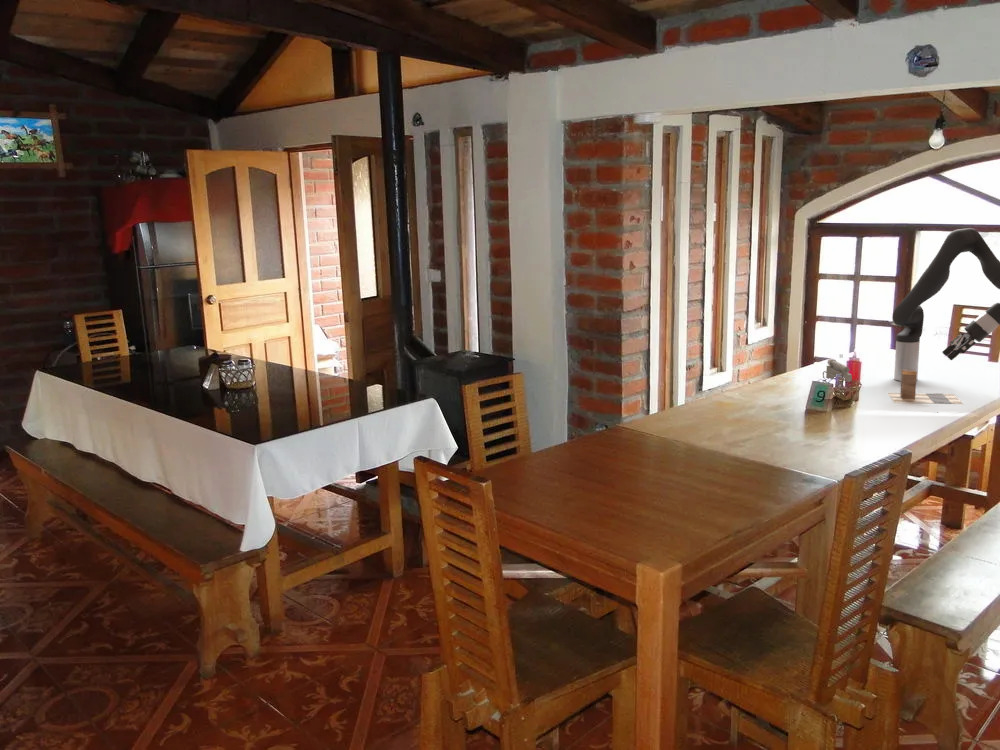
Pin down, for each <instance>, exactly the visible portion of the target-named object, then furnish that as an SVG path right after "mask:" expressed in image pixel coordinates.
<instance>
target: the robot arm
mask: <svg viewBox="0 0 1000 750" xmlns="http://www.w3.org/2000/svg"><path fill="white" fill-rule="evenodd" d="M968 252H969V253H971V254H972V255H974V256H975V257H976V258H977V259H978V261H979V263H980V266H981V270H982V273H983V274H984V276H985V277H986V279H988V280H989V282H990V283H991V284H992V285H993V286H994V287H995V288H997V289H998V290H1000V260H999V259H998V258H997V257H996V255H995V254H994V252H993V251H992V250H991V247H990V246H989V244H987V242H986V241H985V240H984V237H983V236H982V235H981V234H980V232H979V231H977V229H975V228H972V227H967V228H960V229H959V228H958V229H954V230H953V231H951V232H949V233H948V235H947V236H946V237H945V239H944V241H943V243H942V245H941V247H940V249H939V250H938V252H937V254H936V255H935V257H934V258H933V259H932V261H931V262H930V264H929V265H928V266H927V268H926V269H925V270H924V272H923V273H922V274H921V276H920V277H919V279H918V280H917V282H916V283H915V284H914V285H913V287H912V289H911V290H910V291H909V292H908V294H907V295H906V296H905V297H904V298H903V299H902V300H901V302H900V303H898V305H896V307H895V308H894V310H893V313H892V321H893V323H894V324H895V325H896V326H898V327H904V328H903V329H902V331H900V332H899V333H897V334H896V337H895V338H896V339H895V355H894V356H895V357H894V358H895V359H894V376H893V378H894V380H896V381H899V382H901V373H902V372H901V371H902V370H915V371H916V372H917V376H916V381H918V376H919V375H918V373H919V359H920V343H921V342H920V340H921V337H922V334H923V327H924V318H925V314H924V309H923V307H922V306H921V305H922V304H923V303H924V302H926V301H928V300H930V299H931V298H932V297H934V296H935V295H936V294H938V293H939V292H940V291H941V289H943V288H944V285H946V283H947V281H948V280H949V278H950V273H951V271H950V270H951V269H950V268H951V265H952V263H953V262H954V261H955V260H956V258H957V257H958V256H959V255H960V254H961V253H968ZM999 326H1000V302H996V303H994V304H993V305H991V306H990V307H989V308H987V309H986V310H985V311H984V312H982V313H981V314H979V315H978V316H977V317H976V318H974V319H973V320H972V321H971V322H970V323H969V324H967V325H966V326H965V327H964V331H965V332H966V333H964V332H961V333H960V334H958V336H956V337H955V338H954V339H953V340H951V341H950V342H949V345H948V346H947V347H945V349H944V350H943V351H941V352H942V354H943V355H944V356H945V357H947V358H948V359H949V361H953V360H954V359H955V358H957V357H958V356H959V355H961V354H965V353H966V352H968V350H970V349H971V348H972V347H973V346H974V345H975V344H976V342H978V343H981V342H982V341H983V340H984V339H986V337H988V336H989V335H990V334H992V333H993V332H994V331H995V330H996V329H997V328H998V327H999Z"/></svg>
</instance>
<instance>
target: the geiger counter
mask: <svg viewBox="0 0 1000 750" xmlns="http://www.w3.org/2000/svg"><path fill="white" fill-rule="evenodd" d="M827 364H828V365H826V371H825V370H824V371H823V372H822V378H824V379H826V378H834V377H836V374H841V375H843V377H844V378H845V379H846V381H848V382H850V381H852V380H853V379H852V378H853V375H852V373H849V372H850V367H848V366H846V365H845V364H842V363H841V362H838V361H837V360H836V359H834V358H829V359H828V360H827ZM825 375H826V376H825ZM841 375H840V376H841Z"/></svg>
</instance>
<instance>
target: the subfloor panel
mask: <svg viewBox="0 0 1000 750" xmlns="http://www.w3.org/2000/svg"><path fill="white" fill-rule="evenodd" d="M888 395H889V397H890V399H891V400H892V401H893V403H894V404H896V403H897V404H899V403H900V404H937V405H939V404H941V405H942V404H944V405H950V404H951V405H964V403H963V402H962V400H960V399H959V398H958V397H957V396H956V395H955V394H954V393H915V399H902V398H901V397H900V392H888Z"/></svg>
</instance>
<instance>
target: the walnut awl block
mask: <svg viewBox="0 0 1000 750" xmlns="http://www.w3.org/2000/svg"><path fill="white" fill-rule="evenodd" d="M901 372H902V373H901V381H900V391H899V393H900V397H901V398H902V399H915V394H917V393H916V391H917V380H916V376H917V372H916V371H915V370H902V371H901Z"/></svg>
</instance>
